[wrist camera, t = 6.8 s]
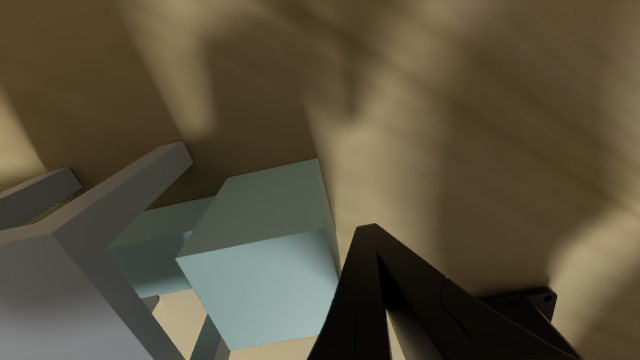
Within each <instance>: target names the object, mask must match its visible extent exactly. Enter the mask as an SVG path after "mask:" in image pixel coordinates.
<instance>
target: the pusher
mask: <svg viewBox="0 0 640 360" xmlns="http://www.w3.org/2000/svg"><path fill="white" fill-rule="evenodd" d="M105 250H106V252H107V253H108V254H109V256H110V257H111V258H112V260H113V261H114V263H115V264H116V265H117V267H118V268H119V269H120V271H121V272H122V274H123V275H124V276H125V278H126V279H127V280H128V282H129V283H130V285H131V286H132V287H133V289H134V290H135V291H136V293H137V294H138V296H139V297H140V298H145V297H150V296H155V295H160V294H165V293H170V292H176V291H181V290H186V289H191V288H193V289H194V291H195V293H196V294H197V296H198V298H199V299H200V301H201V303H202V304H203V306H204V308H205V309H206V311H207V313H208V314H209V316H210V318H211V319H212V321H213V323H214V324H215V326H216V328H217V329H218V331H219V333H220V335H221V336H222V338H223V340H224V341H225V343H226V345H227V346H228V348H229V350H236V349H241V348H247V347H252V346H258V345H263V344H269V343H274V342H280V341H285V340H291V339H296V338H302V337H308V336H313V335H319V333H320V331H321V329H322V326H323V324H324V322H325V319H326V316H327V314H328V311H329V308H330V305H331V302H332V299H333V298H334V294H335V290H336V287H337V284H338V281H339V278H340V275H341V272H342V270H341V263H340V257H339V250H338V244H337V237H336V231H335V227H334V223H333V219H332V215H331V210H330V206H329V202H328V198H327V194H326V190H325V185H324V181H323V177H322V173H321V169H320V164H319V160H318V158H315V159H310V160H306V161H301V162H297V163H292V164H287V165H283V166H278V167H274V168H269V169H265V170H260V171H256V172H251V173H247V174H242V175H238V176H233V177H229V178H227V179H226V181H225V182H224V184H223V185H222V187H221V189H220V190H219V192H218V193H217V195H216V196H211V197H206V198H202V199H197V200H193V201H188V202H183V203H179V204H174V205H170V206H165V207H160V208H156V209H151V210H147V211H143V212H142V213H141V214H140V215H139V216H138V217H137V218H136V219H135V220H134V221H133V222H132V223H131V224H130V225H129V226H128V227H126V228H125V229H124V230H123V231H122V232H121V233H120V234H119V235H118V236H117V237H116V238H115V239H114V240H113V241H112V242H111V243H110V244H109V245H108V246H107V247H106V248H105Z"/></svg>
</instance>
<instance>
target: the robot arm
mask: <svg viewBox="0 0 640 360" xmlns="http://www.w3.org/2000/svg"><path fill="white" fill-rule="evenodd" d="M556 300H557V294H556V293H555V292H554V291H553V290H552V289H551V288H550V287H540V288H534V289H529V290H523V291H518V292H512V293H507V294H501V295H496V296H490V297H485V298H479V299H476V298H475V297H473V296H472V295H471V294H469V293H468V292H466V291H465V290H464V289H462V288H461V287H459V286H458V285H457V284H455V283H454V282H453V281H451V280H450V279H449V278H446V276H445V275H443V274H442V273H441V272H439V271H438V270H437V269H436V268H434V267H433V266H432V265H430V264H429V263H428V262H426V261H425V260H424V259H422V258H421V257H420V256H418V255H417V254H416V253H414V252H413V251H412V250H411V249H409V248H408V247H407V246H405V245H404V244H403V243H401V242H400V241H399V240H397V239H396V238H395V237H393V236H392V235H391V234H389V233H388V232H387V231H386V230H384V229H383V228H382V227H380V226H379V225H378V224H376V223H373V224H368V225H363V226H358V227H356V230H355V233H354V236H353V239H352V242H351V245H350V248H349V251H348V254H347V257H346V260H345V263H344V266H343V269H342V272H341V275H340V278H339V281H338V284H337V287H336V290H335V294H334V298H333V299H332V302H331V305H330V308H329V311H328V314H327V316H326V319H325V322H324V324H323V326H322V329H321V331H320V333H319V335H318V337H317V340H316V342H315V344H314V346H313V348H312V350H311V352H310V354H309V356H308V358H307V360H392V352H391V345H390V338H389V330H388V323H387V315H386V311H387V313H388V316H389V318H390V321H391V323H392V326H393V329H394V331H395V334H396V336H397V339H398V341H399V344H400V346H401V349H402V352H403V354H404V357H405V359H406V360H584V359H583V358H582V357H581V356H580V355H579V354H578V352H577V351H576V350H575V349H574V348H573V347H572V346H571V345H570V344H569V342H568V341H567V340H566V339H565V338H564V337H563V336H562V335H561V334H560V332H559V331H558V330H557V329H556V328H555V327H554V326H553V325H552V324H551V320H552V316H553V312H554V308H555V304H556Z"/></svg>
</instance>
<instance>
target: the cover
mask: <svg viewBox="0 0 640 360" xmlns="http://www.w3.org/2000/svg"><path fill="white" fill-rule="evenodd" d="M192 164H193V160H192V158H191V156H190V154H189V152H188V150H187V147H186V145H185V143H184V141H179V142H174V143H170V144H166V145H161V146H159V147H157V148H156V149H154V150H152V151H151V152H149V153H148V154H146V155H144V156H143V157H141V158H140V159H138V160H136V161H135V162H133V163H132V164H130V165H128V166H127V167H125V168H124V169H122V170H120V171H119V172H117V173H116V174H114V175H112V176H111V177H109V178H108V179H106V180H104V181H103V182H101V183H100V184H98V185H96V186H95V187H93V188H92V189H90V190H88V191H87V192H85V193H84V194H82V195H80V196H79V197H77V198H76V199H74V200H72V201H71V202H69V203H68V204H66V205H64V206H63V207H61V208H60V209H58V210H56V211H55V212H53V213H52V214H50V215H49V216H47V217H45V218H44V219H42V220H41V221H39V222H37V223H33V224H29V225H24V226H20V225H21V224H23V223H25V222H26V221H28V220H30V219H31V218H33V217H35V216H36V215H38V214H40V213H41V212H43V211H45V210H46V209H48V208H50V207H52V206H53V205H55V204H57V203H58V202H60V201H62V200H63V199H65V198H67V197H68V196H70V195H72V194H73V193H75V192H77V191H78V190H80V189H82V188H83V187H82V186H81V184H80V183H79V181H78V180H77V178H76V177H75V176H74V174H73V173H72V171H71V170H70V168H69V167H65V168H61V169H57V170H52V171H48V172H45V173H43V174H40V175H38V176H36V177H34V178H32V179H29V180H27V181H25V182H23V183H21V184H18V185H16V186H14V187H12V188H10V189H7V190H5V191H3V192H1V193H0V360H185V359H184V357H183V356H182V354H181V353H180V352H179V350H178V349H177V348H176V346H175V345H174V343H173V342H172V341H171V339H170V338H169V337H168V335H167V334H166V333H165V331H164V330H163V328H162V327H161V326H160V324H159V323H158V322H157V320H156V319H155V317H154V316H153V315H152V312H153V310H154V308H155V307H156V305H157V303H158V302H159V300H160V299H159V298H158V296H157V295H155V296H150V297H145V298H140V297H139V296H138V294H137V293H136V291H135V290H134V289H133V287H132V286H131V285H130V283H129V282H128V280H127V279H126V278H125V276H124V275H123V274H122V272H121V271H120V269H119V268H118V267H117V265H116V264H115V263H114V261H113V260H112V258H111V257H110V256H109V254H108V253H107V252H106V250H105V248H106V247H107V246H108V245H109V244H110V243H111V242H112V241H113V240H114V239H115V238H116V237H117V236H118V235H119V234H120V233H121V232H122V231H123V230H124V229H125V228H126V227H128V226H129V225H130V224H131V223H132V222H133V221H134V220H135V219H136V218H137V217H138V216H139V215H140V214H141V213H142V212H143V211H144V210H145V209H146V208H147V207H148V206H149V205H150V204H151V203H153V202H154V201H155V200H156V199H157V198H158V197H159V196H160V195H161V194H162V193H163V192H164V191H165V190H166V189H167V188H168V187H169V186H170V185H171V184H172V183H173V182H174V181H175V180H176V179H178V178H179V177H180V176H181V175H182V174H183V173H184V172H185V171H186V170H187V169H188V168H189V167H190V166H191V165H192ZM18 226H20V227H18ZM230 352H231V350H229V348H228V346H227V345H226V343H225V341H224V340H223V338H222V336H221V335H220V333H219V331H218V329H217V328H216V326H215V324H214V323H213V321H212V319H211V318H210V316H209V314H207V316H206V319H205V322H204V324H203V327H202V329H201V332H200V335H199V337H198V340H197V342H196V345H195V348H194V350H193V353H192V355H191V358H190V360H228V359H229V355H230Z"/></svg>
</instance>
